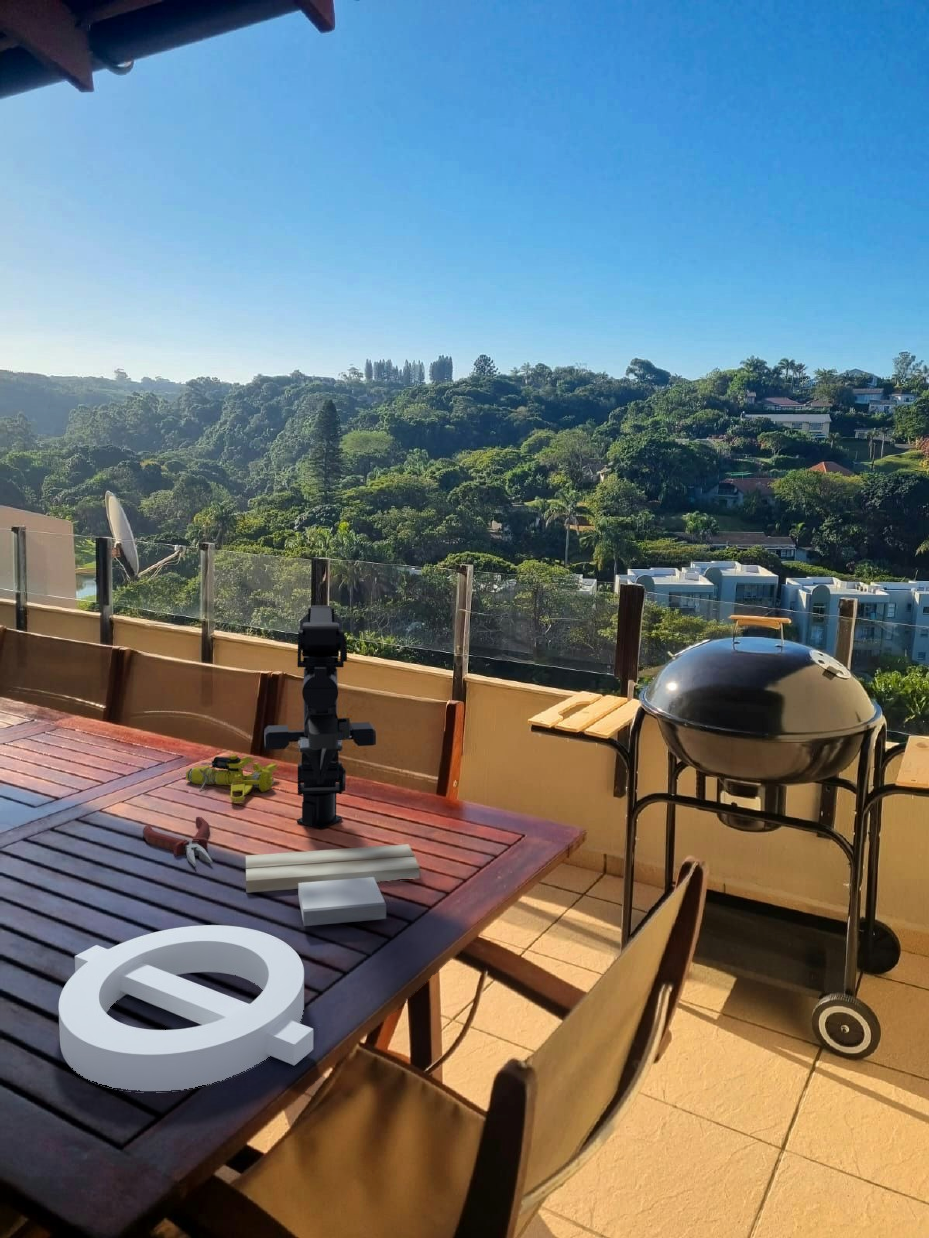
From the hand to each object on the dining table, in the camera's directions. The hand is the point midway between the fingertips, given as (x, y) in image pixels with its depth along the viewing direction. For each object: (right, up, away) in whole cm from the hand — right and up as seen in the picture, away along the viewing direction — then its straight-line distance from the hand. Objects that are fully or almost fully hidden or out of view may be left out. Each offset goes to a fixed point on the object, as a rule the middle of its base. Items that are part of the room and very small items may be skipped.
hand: (319, 783), depth 153 cm
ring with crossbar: (-9, -20, -46) cm, 51 cm away
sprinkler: (-26, -8, +35) cm, 44 cm away
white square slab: (+5, -14, -13) cm, 20 cm away
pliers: (-26, -13, +3) cm, 29 cm away
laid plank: (+3, -14, -6) cm, 15 cm away
